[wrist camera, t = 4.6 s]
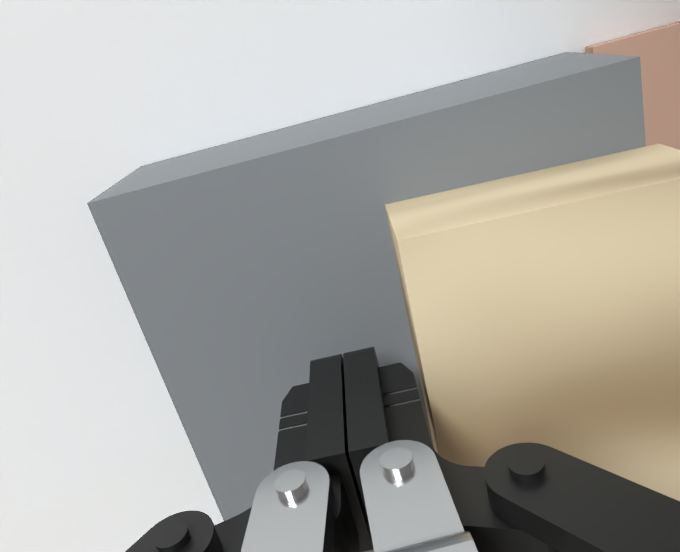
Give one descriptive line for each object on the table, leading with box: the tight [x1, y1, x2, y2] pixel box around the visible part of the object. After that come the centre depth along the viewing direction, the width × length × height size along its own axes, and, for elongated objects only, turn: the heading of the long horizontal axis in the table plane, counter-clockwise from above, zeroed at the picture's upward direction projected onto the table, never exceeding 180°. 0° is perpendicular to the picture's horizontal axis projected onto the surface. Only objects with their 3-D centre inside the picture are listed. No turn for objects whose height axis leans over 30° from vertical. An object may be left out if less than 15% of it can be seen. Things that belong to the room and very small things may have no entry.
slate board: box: [87, 52, 646, 552], centre depth 18 cm, size 22×12×4 cm, turn 14°
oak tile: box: [385, 144, 680, 501], centre depth 13 cm, size 8×6×2 cm
